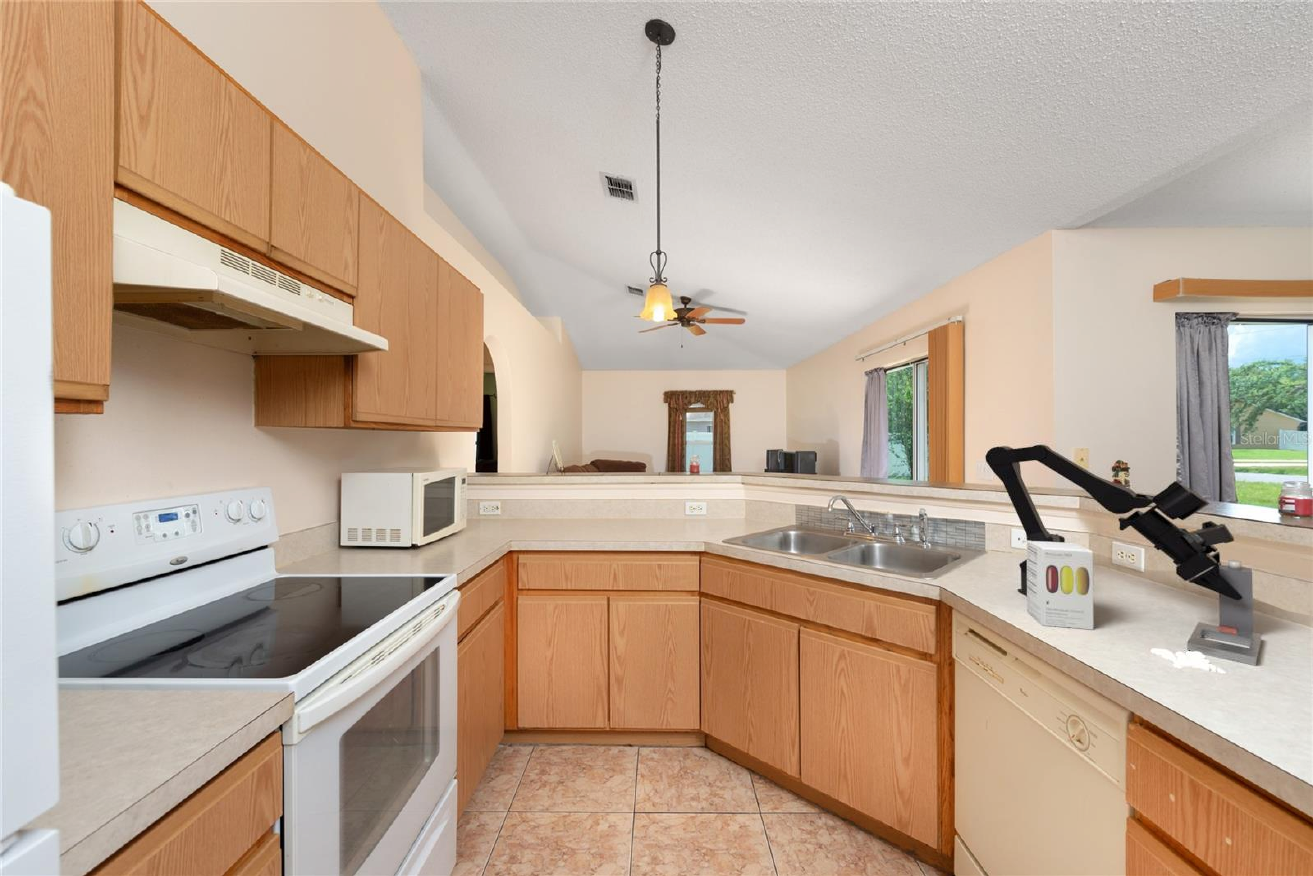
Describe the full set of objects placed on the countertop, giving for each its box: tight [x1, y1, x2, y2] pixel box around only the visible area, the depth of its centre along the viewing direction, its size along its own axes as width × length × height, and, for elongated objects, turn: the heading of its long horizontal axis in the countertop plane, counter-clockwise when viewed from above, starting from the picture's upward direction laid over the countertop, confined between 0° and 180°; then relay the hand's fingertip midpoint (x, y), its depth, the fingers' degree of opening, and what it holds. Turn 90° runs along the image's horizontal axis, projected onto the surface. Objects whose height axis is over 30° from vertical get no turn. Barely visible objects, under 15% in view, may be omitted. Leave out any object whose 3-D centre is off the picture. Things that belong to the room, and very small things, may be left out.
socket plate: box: [1186, 621, 1262, 667], centre depth 97 cm, size 16×8×2 cm, turn 128°
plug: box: [1218, 559, 1254, 633], centre depth 104 cm, size 4×4×14 cm
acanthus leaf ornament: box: [1150, 648, 1227, 674], centre depth 91 cm, size 8×7×2 cm
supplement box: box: [1026, 540, 1095, 631], centre depth 112 cm, size 10×9×17 cm
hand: (1239, 594), depth 104 cm, fingers open, 9 cm apart
